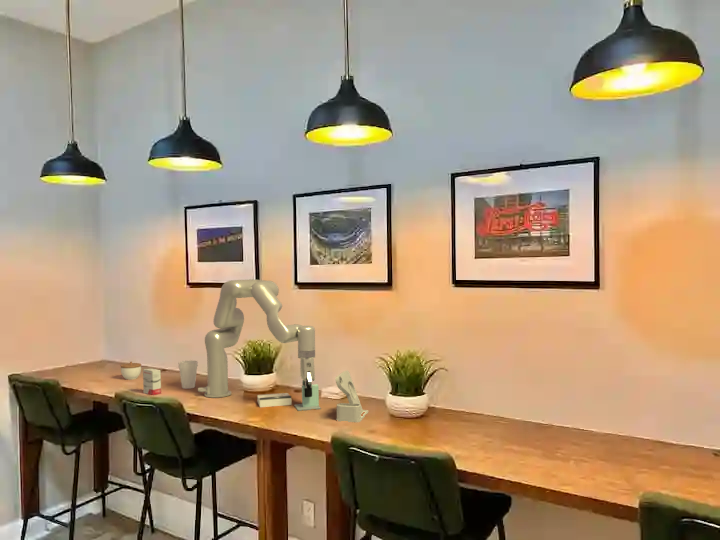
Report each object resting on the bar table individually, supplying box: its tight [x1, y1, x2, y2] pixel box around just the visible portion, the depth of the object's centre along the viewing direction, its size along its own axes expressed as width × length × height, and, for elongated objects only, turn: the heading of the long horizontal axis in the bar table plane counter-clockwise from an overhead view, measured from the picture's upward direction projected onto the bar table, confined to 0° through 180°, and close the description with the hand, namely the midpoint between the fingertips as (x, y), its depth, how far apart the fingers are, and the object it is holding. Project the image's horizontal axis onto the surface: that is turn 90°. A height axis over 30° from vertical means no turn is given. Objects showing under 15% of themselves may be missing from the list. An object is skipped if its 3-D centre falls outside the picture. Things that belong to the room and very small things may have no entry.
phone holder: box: [334, 369, 369, 423], centre depth 248 cm, size 17×10×18 cm, turn 166°
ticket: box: [301, 383, 320, 407], centre depth 264 cm, size 7×2×9 cm, turn 105°
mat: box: [293, 403, 322, 412], centre depth 264 cm, size 10×10×1 cm
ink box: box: [142, 367, 162, 396], centre depth 295 cm, size 9×5×12 cm, turn 51°
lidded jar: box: [120, 361, 142, 380], centre depth 333 cm, size 11×11×9 cm
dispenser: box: [257, 392, 292, 408], centre depth 272 cm, size 14×11×4 cm
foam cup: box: [178, 359, 199, 389], centre depth 308 cm, size 10×9×13 cm
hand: (307, 395), depth 264 cm, fingers open, 4 cm apart
